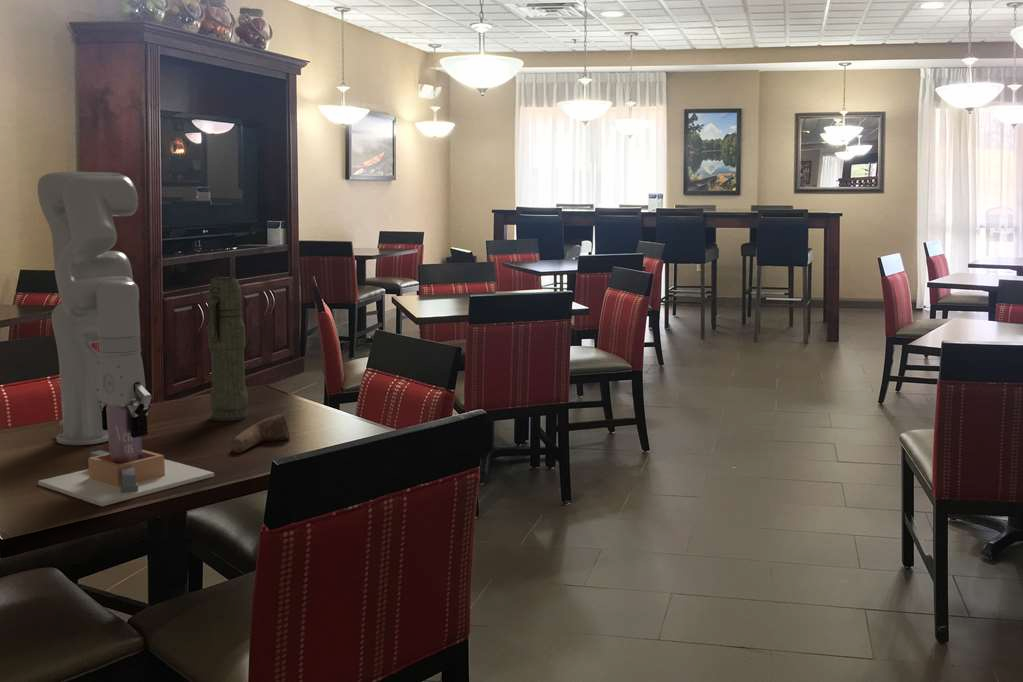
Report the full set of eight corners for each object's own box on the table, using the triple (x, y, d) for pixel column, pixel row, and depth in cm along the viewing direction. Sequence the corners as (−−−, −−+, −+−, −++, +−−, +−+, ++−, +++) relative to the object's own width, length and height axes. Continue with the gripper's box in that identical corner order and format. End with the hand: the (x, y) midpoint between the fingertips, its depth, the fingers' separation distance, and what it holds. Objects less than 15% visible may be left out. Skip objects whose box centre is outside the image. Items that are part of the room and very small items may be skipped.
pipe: (222, 432, 214) (266, 426, 213) (251, 415, 231) (292, 409, 229) (228, 461, 215) (272, 455, 214) (257, 441, 232) (298, 436, 230)
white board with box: (38, 484, 191) (36, 460, 191) (149, 458, 210) (148, 436, 210) (101, 506, 178) (100, 480, 178) (214, 476, 197) (213, 452, 197)
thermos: (201, 421, 245) (195, 279, 239) (225, 411, 256) (219, 275, 251) (234, 423, 243) (228, 279, 238) (257, 412, 254) (252, 275, 249)
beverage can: (143, 470, 198) (138, 396, 196) (143, 478, 193) (139, 402, 191) (110, 473, 196) (105, 399, 194) (110, 481, 191) (105, 405, 188)
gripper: (76, 343, 193) (82, 429, 195) (127, 352, 182) (132, 443, 185) (112, 338, 199) (117, 422, 201) (163, 347, 188) (168, 435, 191)
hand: (124, 432), depth 193 cm, fingers open, 9 cm apart
